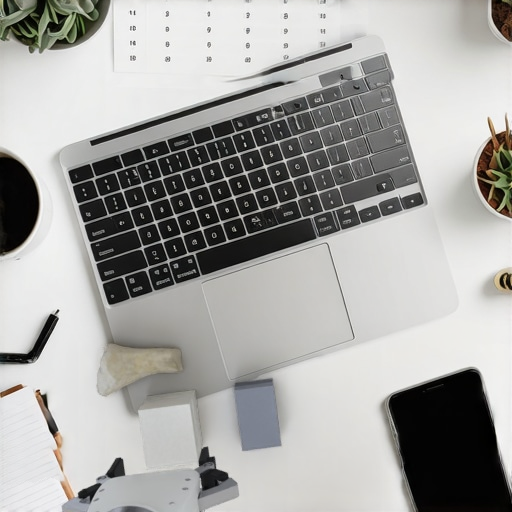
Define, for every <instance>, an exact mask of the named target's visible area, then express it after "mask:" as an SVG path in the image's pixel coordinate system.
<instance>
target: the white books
mask: <svg viewBox="0 0 512 512" xmlns="http://www.w3.org/2000/svg"><path fill="white" fill-rule="evenodd" d="M187 399H191V400H192V407H193V414H194V421H195V428H196V435H197V442H198V449H199V456H200V453H201V449H202V448H203V447H204V443H203V437H202V429H201V423H200V422H201V421H200V414H199V407H198V401H197V395H196V390H195V389H190V390H183V391H176V392H168V393H162V394H161V393H160V394H153V395H147V396H146V397H145V398H144V400H143V402H142V404H141V405H149V404H156V403H164V402H172V401H180V400H187Z"/></svg>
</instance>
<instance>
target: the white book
mask: <svg viewBox="0 0 512 512" xmlns="http://www.w3.org/2000/svg"><path fill="white" fill-rule="evenodd" d="M137 414H138V421H139V428H140V434H141V441H142V447H143V454H144V460H145V467H146V470H147V471H148V470H156V469H157V470H158V469H163V468H171V467H172V468H173V467H180V466H186V465H187V466H188V465H195V464H198V461H199V457H200V456H199V449H198V442H197V435H196V428H195V421H194V414H193V407H192V400H191V399H187V400H180V401H172V402H164V403H156V404H149V405H142V404H141V405H139V408H138V409H137Z"/></svg>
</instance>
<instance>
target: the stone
mask: <svg viewBox="0 0 512 512" xmlns="http://www.w3.org/2000/svg"><path fill="white" fill-rule="evenodd" d="M103 352H104V353H102V355H101V357H100V361H99V367H98V372H97V374H96V390H97V394H98V395H99V396H101V397H105V398H106V397H108V396H110V395H111V394H113V393H116V392H118V391H119V390H121V389H122V388H124V387H126V386H129V385H131V384H133V383H135V382H136V381H139V380H141V379H143V378H145V377H147V376H152V375H156V374H164V373H165V374H167V373H169V374H172V373H173V374H178V373H179V374H180V373H181V371H183V370H184V367H183V362H182V352H181V350H180V349H178V348H175V347H173V348H171V347H170V348H168V347H164V348H163V347H150V348H141V347H140V348H137V347H130V346H123V345H118V344H116V343H106V344H105V345H104V346H103Z"/></svg>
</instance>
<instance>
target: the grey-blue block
mask: <svg viewBox="0 0 512 512" xmlns="http://www.w3.org/2000/svg"><path fill="white" fill-rule="evenodd" d="M274 386H275V385H274V379H273V378H265V379H264V378H263V379H258V380H257V379H256V380H248V381H242V382H241V381H240V382H235V383H234V387H233V388H234V389H233V393H234V400H235V407H236V413H237V422H238V429H239V436H240V443H241V444H240V445H241V451H242V452H248V451H254V450H255V451H256V450H262V449H270V448H278V447H282V439H281V432H280V425H279V417H278V410H277V401H276V393H275V387H274Z"/></svg>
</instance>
